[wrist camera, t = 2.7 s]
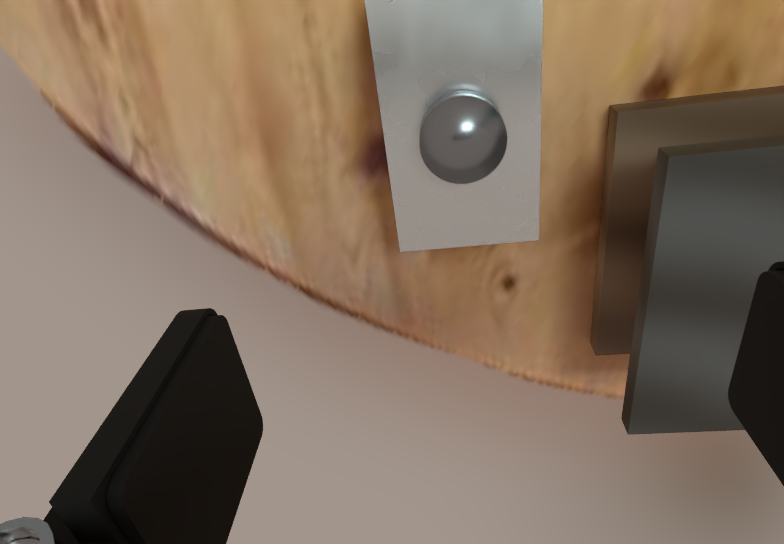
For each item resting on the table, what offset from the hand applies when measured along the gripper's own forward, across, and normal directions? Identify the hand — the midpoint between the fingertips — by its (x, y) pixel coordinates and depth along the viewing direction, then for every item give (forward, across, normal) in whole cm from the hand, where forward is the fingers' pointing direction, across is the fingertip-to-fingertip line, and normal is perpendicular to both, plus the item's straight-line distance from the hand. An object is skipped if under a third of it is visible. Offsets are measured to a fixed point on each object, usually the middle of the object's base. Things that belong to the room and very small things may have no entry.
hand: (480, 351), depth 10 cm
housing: (+18, 0, 0) cm, 18 cm away
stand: (+18, -14, +8) cm, 24 cm away
